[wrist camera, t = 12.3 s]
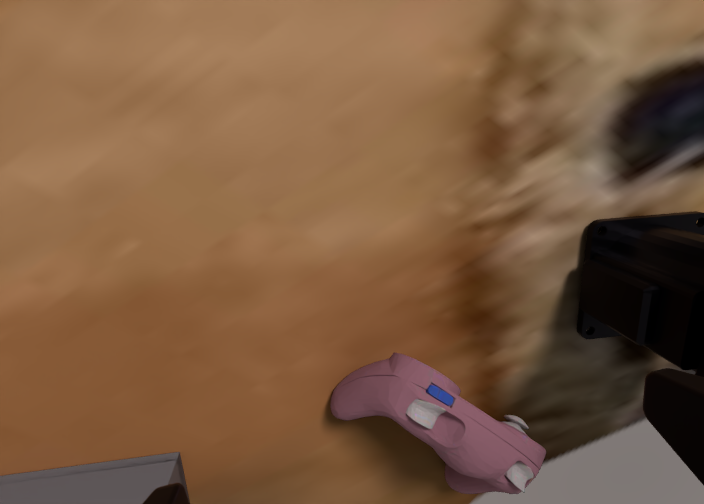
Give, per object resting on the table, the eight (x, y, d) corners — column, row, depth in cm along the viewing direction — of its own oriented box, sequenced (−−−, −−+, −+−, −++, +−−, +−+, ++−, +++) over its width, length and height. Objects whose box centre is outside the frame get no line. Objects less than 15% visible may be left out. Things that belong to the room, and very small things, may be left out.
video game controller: (482, 414, 26) (585, 451, 19) (450, 487, 24) (550, 553, 18) (359, 328, 23) (432, 338, 17) (315, 404, 22) (376, 447, 15)
